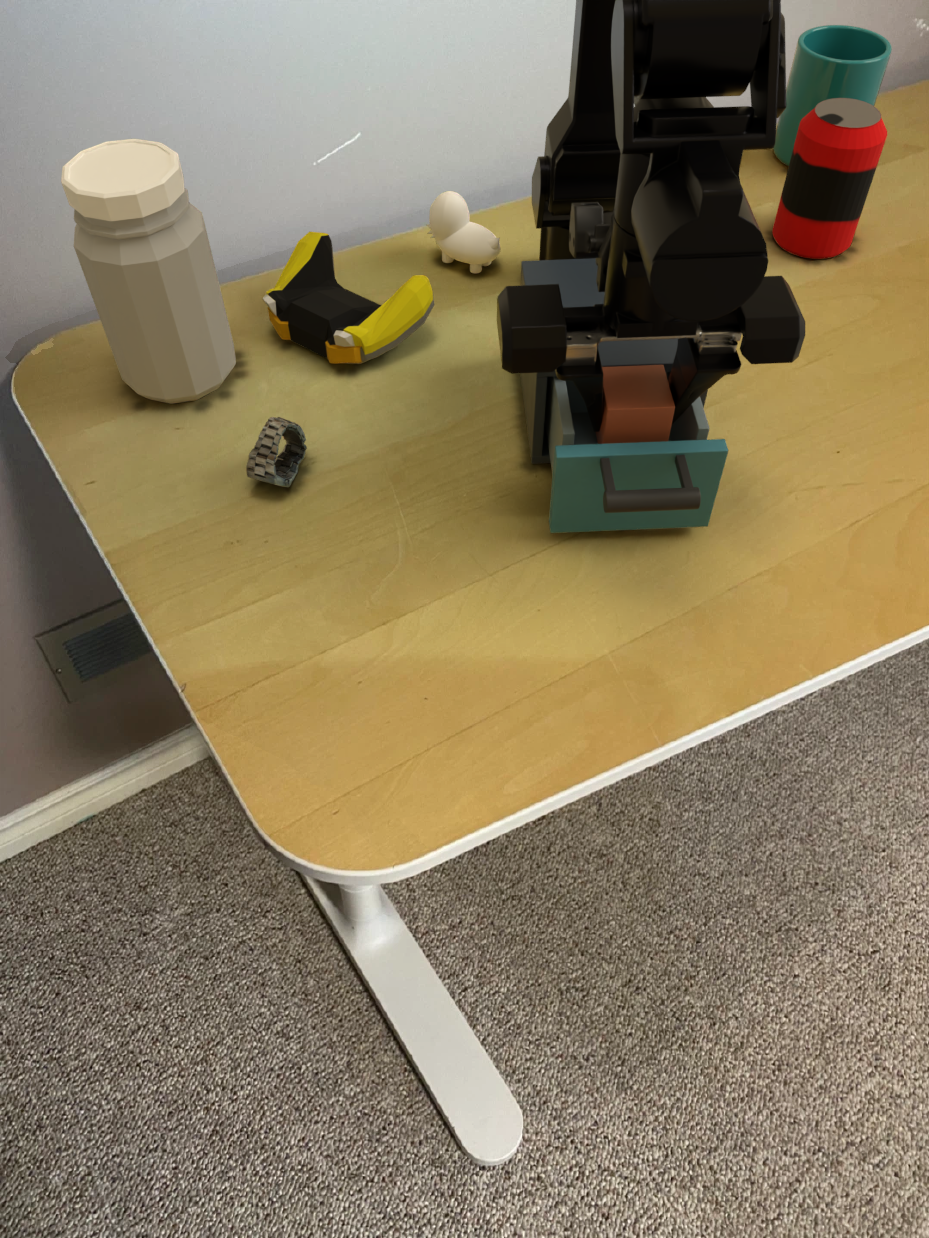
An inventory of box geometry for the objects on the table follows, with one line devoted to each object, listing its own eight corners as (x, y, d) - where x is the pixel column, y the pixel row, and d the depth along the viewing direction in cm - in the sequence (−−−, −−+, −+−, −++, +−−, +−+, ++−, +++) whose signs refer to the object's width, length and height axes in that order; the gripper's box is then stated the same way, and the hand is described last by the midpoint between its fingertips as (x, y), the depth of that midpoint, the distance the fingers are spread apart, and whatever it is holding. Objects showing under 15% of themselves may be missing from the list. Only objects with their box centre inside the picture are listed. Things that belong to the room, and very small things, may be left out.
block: (600, 460, 67) (607, 409, 63) (592, 417, 70) (598, 366, 66) (664, 457, 67) (675, 406, 63) (654, 415, 70) (663, 364, 66)
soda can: (754, 235, 94) (785, 109, 85) (807, 210, 97) (842, 85, 88) (814, 270, 91) (853, 142, 81) (867, 243, 93) (911, 116, 84)
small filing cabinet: (692, 458, 75) (715, 361, 68) (531, 464, 75) (536, 368, 67) (662, 350, 83) (679, 254, 76) (517, 356, 83) (521, 260, 76)
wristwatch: (269, 481, 76) (239, 475, 71) (294, 420, 75) (265, 410, 70) (302, 497, 75) (273, 492, 70) (327, 436, 74) (300, 426, 70)
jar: (179, 325, 86) (120, 121, 72) (263, 361, 83) (218, 154, 69) (99, 384, 81) (19, 177, 67) (184, 425, 78) (119, 215, 64)
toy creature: (444, 237, 95) (442, 175, 90) (512, 262, 92) (514, 199, 87) (416, 259, 92) (413, 196, 88) (486, 285, 90) (486, 222, 85)
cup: (876, 137, 106) (912, 25, 97) (840, 185, 100) (875, 70, 91) (798, 118, 109) (826, 8, 100) (758, 163, 103) (784, 49, 94)
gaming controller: (320, 275, 91) (245, 326, 86) (312, 220, 87) (232, 270, 82) (445, 331, 85) (372, 389, 80) (443, 276, 81) (366, 333, 76)
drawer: (721, 574, 66) (744, 496, 60) (556, 581, 66) (564, 503, 60) (676, 413, 77) (693, 333, 71) (534, 419, 77) (539, 339, 71)
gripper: (789, 143, 60) (736, 350, 73) (492, 153, 60) (490, 360, 72) (839, 240, 53) (772, 451, 66) (505, 252, 53) (500, 462, 65)
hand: (630, 426), depth 67 cm, fingers closed on block, 4 cm apart
